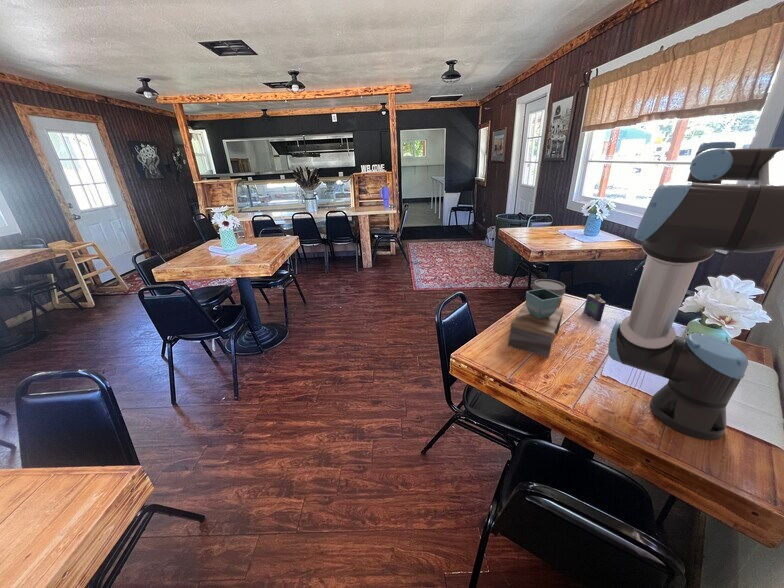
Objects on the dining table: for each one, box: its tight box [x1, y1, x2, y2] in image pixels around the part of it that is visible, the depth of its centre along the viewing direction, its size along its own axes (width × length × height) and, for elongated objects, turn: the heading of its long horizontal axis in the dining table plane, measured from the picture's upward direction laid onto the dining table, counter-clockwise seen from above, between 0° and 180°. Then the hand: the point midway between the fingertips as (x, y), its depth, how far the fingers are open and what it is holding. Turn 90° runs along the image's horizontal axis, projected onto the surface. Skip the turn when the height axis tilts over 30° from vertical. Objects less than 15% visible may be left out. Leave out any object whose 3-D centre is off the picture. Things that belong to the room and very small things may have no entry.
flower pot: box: [525, 289, 563, 319], centre depth 117 cm, size 9×9×9 cm
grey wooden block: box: [507, 302, 564, 359], centre depth 121 cm, size 22×14×10 cm, turn 145°
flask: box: [582, 293, 607, 322], centre depth 136 cm, size 9×3×11 cm, turn 9°
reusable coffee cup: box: [532, 278, 566, 308], centre depth 137 cm, size 13×13×15 cm
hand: (670, 267), depth 101 cm, fingers open, 13 cm apart
